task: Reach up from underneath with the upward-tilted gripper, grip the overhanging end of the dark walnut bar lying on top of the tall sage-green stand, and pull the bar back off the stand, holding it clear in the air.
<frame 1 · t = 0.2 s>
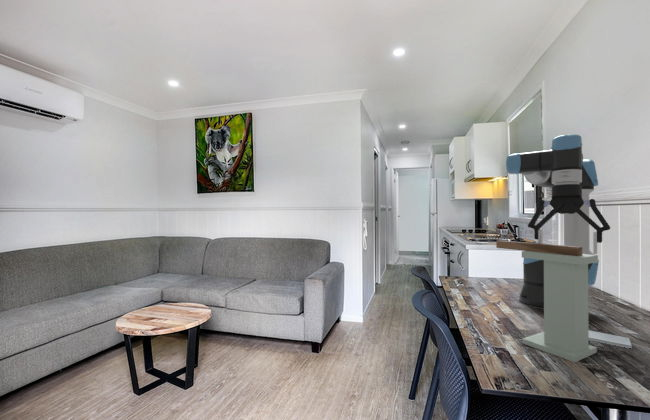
hand: (566, 251, 97), 29 cm above the table, tool pointing down, fingers open, 13 cm apart
sage stand: (558, 347, 94), on the table
hard drive: (603, 341, 100), on the table
walnut bar: (535, 251, 99), point 29 cm above the table, touching sage stand
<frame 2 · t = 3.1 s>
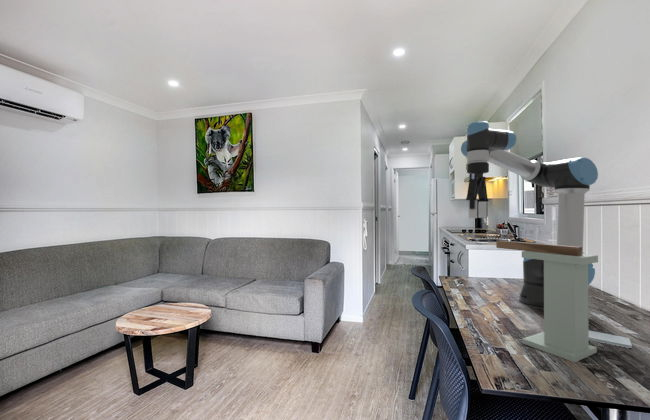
hand: (477, 218, 118), 39 cm above the table, tool pointing down, fingers open, 13 cm apart
nothing on the table moved.
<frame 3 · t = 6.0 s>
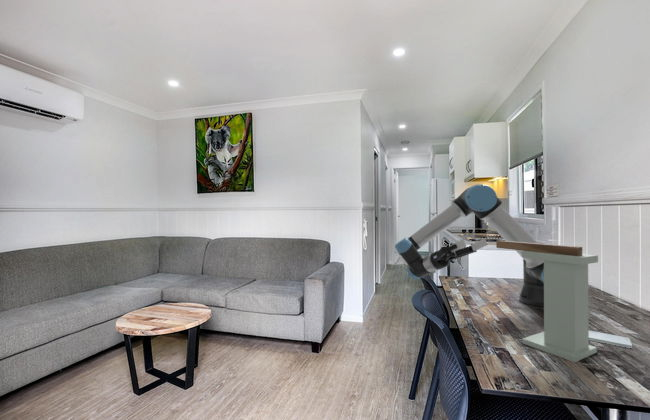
hand: (475, 242, 119), 30 cm above the table, tool pointing upward, fingers open, 13 cm apart
nothing on the table moved.
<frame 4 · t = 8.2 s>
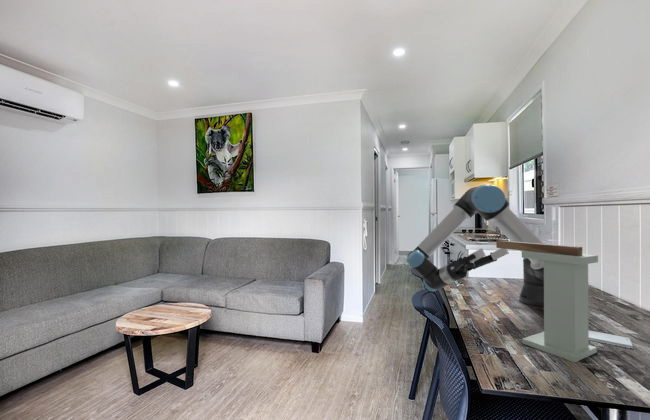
hand: (495, 250, 111), 28 cm above the table, tool pointing upward, fingers open, 13 cm apart
nothing on the table moved.
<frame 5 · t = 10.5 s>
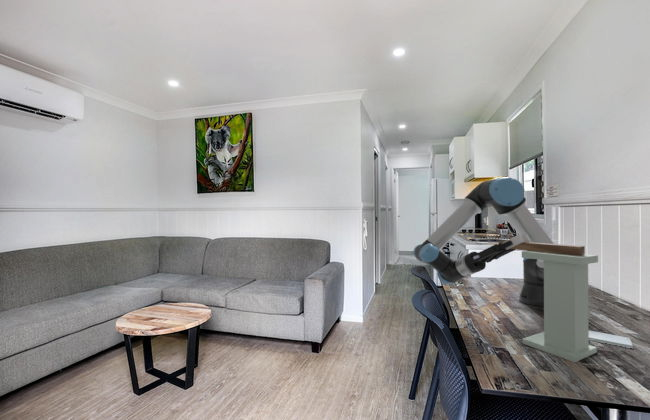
hand: (524, 237, 103), 33 cm above the table, tool pointing upward, fingers closed on walnut bar, 3 cm apart
walnut bar: (537, 250, 100), point 29 cm above the table, touching gripper, sage stand
everything else where it was.
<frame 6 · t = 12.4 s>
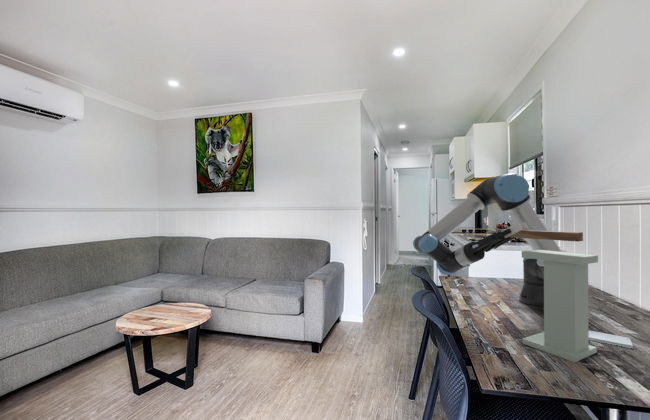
hand: (523, 225, 103), 37 cm above the table, tool pointing upward, fingers closed on walnut bar, 3 cm apart
walnut bar: (536, 238, 100), point 33 cm above the table, touching gripper
everything else where it was.
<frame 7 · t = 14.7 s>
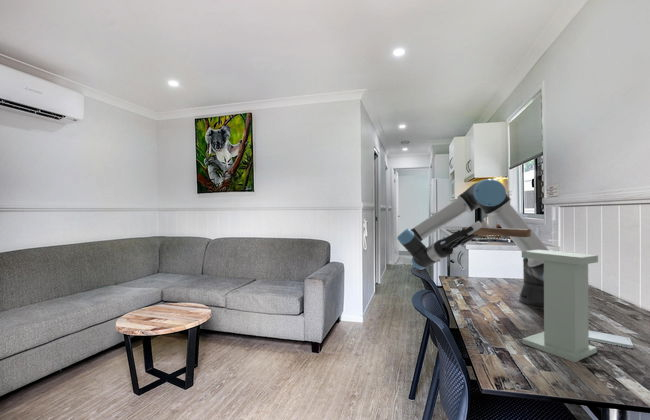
hand: (483, 224, 116), 37 cm above the table, tool pointing upward, fingers closed on walnut bar, 3 cm apart
walnut bar: (493, 235, 112), point 33 cm above the table, touching gripper
everything else where it was.
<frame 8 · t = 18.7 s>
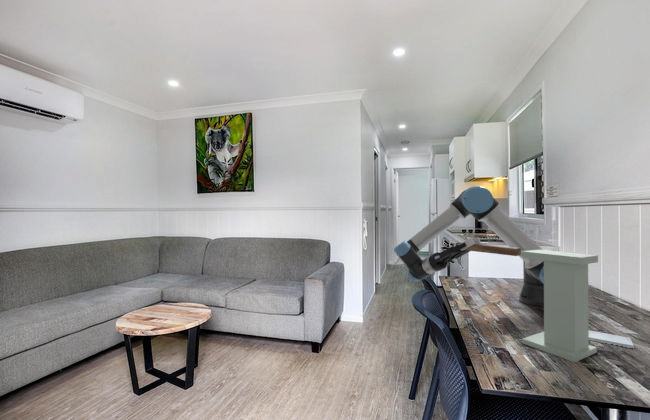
hand: (476, 240, 119), 31 cm above the table, tool pointing upward, fingers closed on walnut bar, 3 cm apart
walnut bar: (485, 251, 115), point 27 cm above the table, touching gripper
everything else where it was.
at the end: walnut bar touching gripper; the gripper is holding walnut bar; walnut bar moved 18.0 cm from its start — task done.
